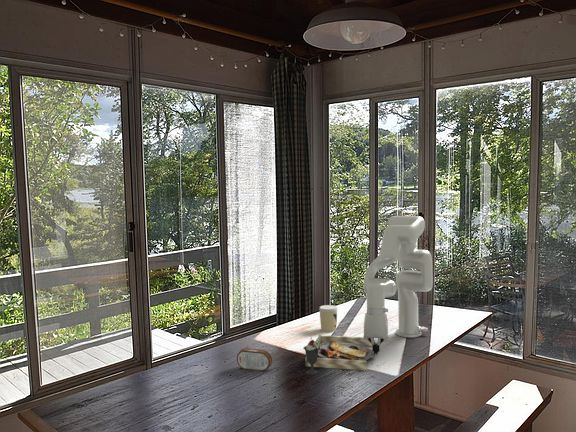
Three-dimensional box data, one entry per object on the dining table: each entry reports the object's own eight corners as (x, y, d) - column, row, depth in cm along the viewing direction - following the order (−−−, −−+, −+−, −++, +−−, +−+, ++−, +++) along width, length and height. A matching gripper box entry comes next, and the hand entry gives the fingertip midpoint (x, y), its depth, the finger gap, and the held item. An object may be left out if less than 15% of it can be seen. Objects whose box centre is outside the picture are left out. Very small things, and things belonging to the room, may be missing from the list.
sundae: (309, 377, 189) (308, 339, 188) (301, 371, 195) (300, 334, 194) (323, 373, 192) (323, 336, 191) (315, 368, 198) (314, 332, 197)
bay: (372, 345, 225) (372, 337, 225) (366, 370, 195) (366, 361, 195) (319, 342, 231) (319, 335, 231) (305, 366, 201) (305, 357, 201)
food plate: (305, 356, 210) (305, 348, 210) (335, 343, 228) (336, 336, 228) (354, 371, 194) (354, 363, 194) (383, 356, 212) (383, 348, 212)
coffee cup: (338, 332, 246) (338, 309, 245) (320, 332, 246) (319, 309, 245) (337, 327, 255) (336, 304, 255) (319, 327, 255) (318, 305, 255)
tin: (272, 370, 198) (272, 349, 197) (270, 372, 195) (269, 352, 194) (239, 366, 203) (238, 346, 202) (236, 369, 200) (235, 349, 199)
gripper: (393, 309, 209) (393, 351, 210) (358, 308, 213) (359, 349, 214) (393, 313, 202) (393, 357, 203) (357, 312, 206) (357, 355, 206)
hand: (375, 353), depth 208 cm, fingers closed
